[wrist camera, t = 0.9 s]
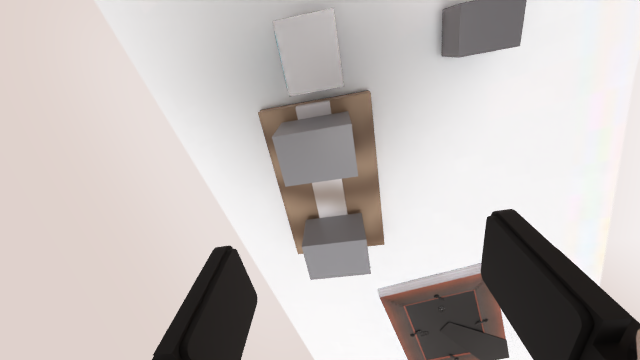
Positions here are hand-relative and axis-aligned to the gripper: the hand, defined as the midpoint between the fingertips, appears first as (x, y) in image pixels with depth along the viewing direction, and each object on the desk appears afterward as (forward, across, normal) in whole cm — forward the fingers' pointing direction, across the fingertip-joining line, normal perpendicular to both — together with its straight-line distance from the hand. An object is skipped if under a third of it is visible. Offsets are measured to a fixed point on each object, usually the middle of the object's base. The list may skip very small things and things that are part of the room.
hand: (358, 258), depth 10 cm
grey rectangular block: (+22, -13, -6) cm, 27 cm away
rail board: (+22, +3, +8) cm, 23 cm away
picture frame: (+22, -12, +37) cm, 45 cm away
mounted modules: (+19, +3, +8) cm, 21 cm away
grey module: (+22, +2, -7) cm, 23 cm away
